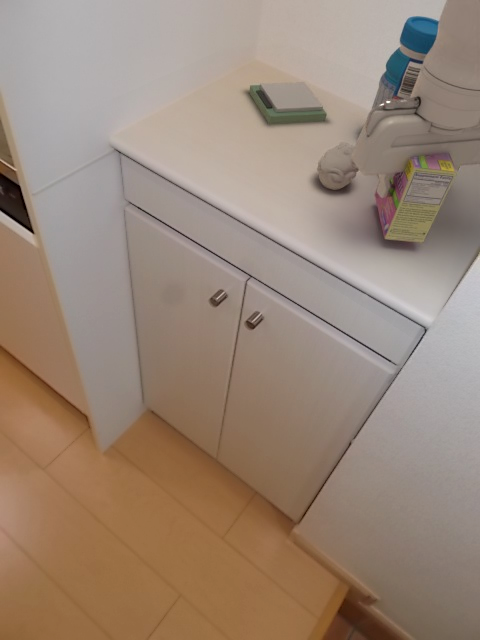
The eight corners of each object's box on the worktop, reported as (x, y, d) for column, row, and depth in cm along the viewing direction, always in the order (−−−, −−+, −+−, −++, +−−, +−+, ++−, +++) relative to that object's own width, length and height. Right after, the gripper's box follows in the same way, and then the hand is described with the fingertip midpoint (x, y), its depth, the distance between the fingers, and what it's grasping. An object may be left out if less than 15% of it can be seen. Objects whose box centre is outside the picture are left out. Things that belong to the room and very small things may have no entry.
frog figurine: (360, 191, 83) (375, 153, 78) (327, 202, 80) (339, 163, 75) (336, 170, 86) (349, 132, 81) (303, 180, 83) (313, 141, 78)
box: (372, 194, 79) (399, 122, 70) (409, 198, 80) (440, 127, 71) (382, 240, 73) (413, 167, 64) (422, 244, 73) (459, 172, 64)
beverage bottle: (350, 138, 93) (389, 17, 78) (380, 126, 98) (422, 9, 82) (387, 162, 90) (435, 40, 75) (415, 148, 94) (466, 31, 79)
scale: (301, 93, 102) (304, 79, 100) (324, 123, 96) (328, 109, 93) (248, 95, 99) (250, 80, 97) (268, 126, 92) (271, 111, 90)
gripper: (387, 115, 57) (352, 214, 68) (534, 105, 63) (480, 198, 74) (361, 86, 61) (332, 185, 71) (502, 79, 67) (456, 171, 77)
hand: (408, 191), depth 73 cm, fingers closed on box, 6 cm apart
